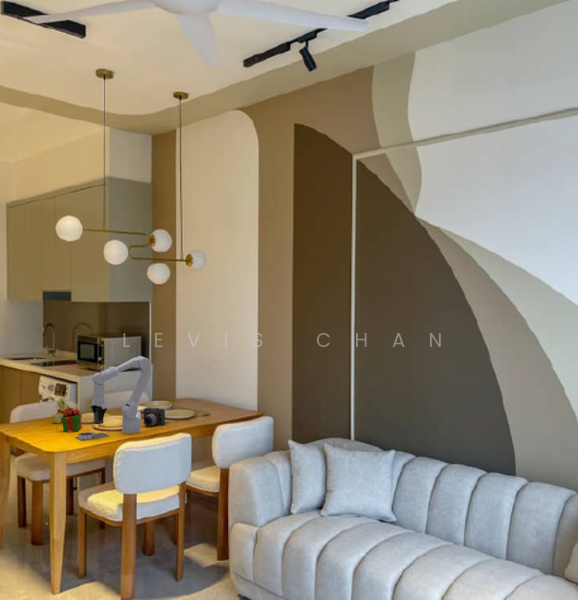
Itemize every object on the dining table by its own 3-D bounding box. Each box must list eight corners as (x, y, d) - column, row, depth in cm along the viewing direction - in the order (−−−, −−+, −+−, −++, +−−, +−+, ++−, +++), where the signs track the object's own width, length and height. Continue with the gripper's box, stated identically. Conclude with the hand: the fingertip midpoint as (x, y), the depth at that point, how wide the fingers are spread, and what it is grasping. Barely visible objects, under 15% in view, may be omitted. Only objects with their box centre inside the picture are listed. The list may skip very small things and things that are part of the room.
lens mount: (103, 434, 331) (103, 428, 331) (110, 438, 324) (110, 432, 323) (74, 438, 321) (74, 433, 321) (81, 443, 313) (81, 437, 313)
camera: (136, 425, 351) (136, 409, 351) (146, 421, 362) (147, 405, 361) (156, 428, 346) (156, 411, 346) (166, 424, 356) (166, 408, 356)
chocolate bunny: (73, 421, 359) (73, 397, 358) (55, 424, 351) (55, 399, 350) (67, 419, 364) (67, 395, 363) (50, 422, 356) (50, 397, 355)
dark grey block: (101, 421, 328) (101, 410, 327) (104, 423, 324) (105, 412, 324) (92, 422, 324) (92, 412, 324) (96, 424, 320) (96, 413, 320)
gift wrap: (60, 431, 342) (57, 407, 343) (93, 427, 344) (90, 403, 344) (49, 439, 322) (46, 412, 323) (84, 434, 324) (81, 408, 324)
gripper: (86, 393, 326) (86, 418, 327) (97, 397, 315) (97, 423, 316) (98, 392, 331) (98, 416, 331) (109, 396, 320) (109, 421, 320)
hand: (98, 419), depth 324 cm, fingers closed on dark grey block, 5 cm apart
